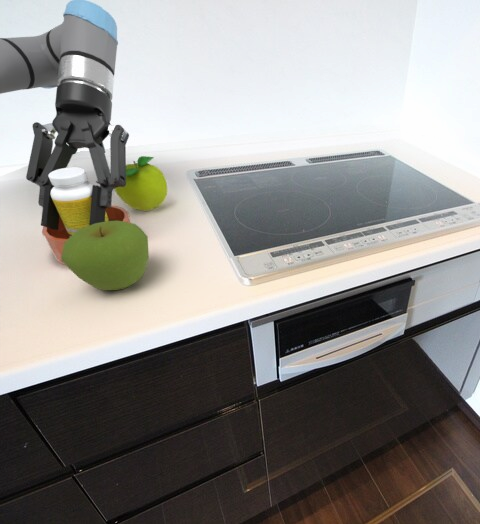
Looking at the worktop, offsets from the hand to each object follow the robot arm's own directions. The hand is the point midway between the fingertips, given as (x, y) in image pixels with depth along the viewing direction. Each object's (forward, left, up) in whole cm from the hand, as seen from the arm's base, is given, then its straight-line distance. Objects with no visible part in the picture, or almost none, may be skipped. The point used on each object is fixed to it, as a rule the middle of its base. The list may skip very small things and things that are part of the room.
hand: (73, 227), depth 57 cm
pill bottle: (-2, +3, -4) cm, 5 cm away
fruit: (-6, +18, -6) cm, 20 cm away
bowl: (-2, +3, -6) cm, 7 cm away
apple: (+10, -2, -6) cm, 12 cm away
